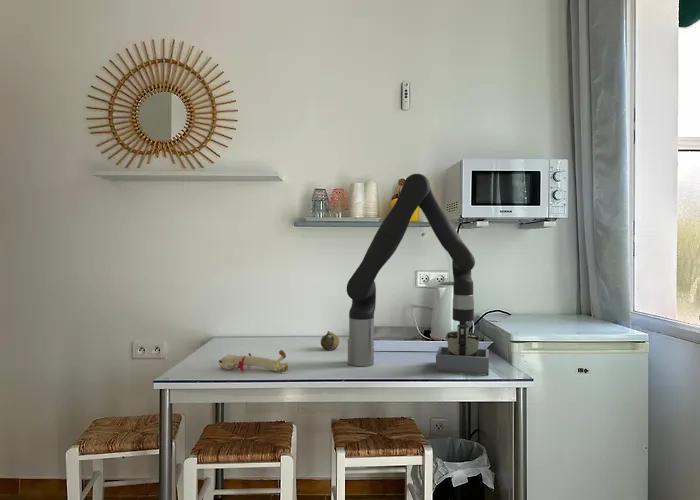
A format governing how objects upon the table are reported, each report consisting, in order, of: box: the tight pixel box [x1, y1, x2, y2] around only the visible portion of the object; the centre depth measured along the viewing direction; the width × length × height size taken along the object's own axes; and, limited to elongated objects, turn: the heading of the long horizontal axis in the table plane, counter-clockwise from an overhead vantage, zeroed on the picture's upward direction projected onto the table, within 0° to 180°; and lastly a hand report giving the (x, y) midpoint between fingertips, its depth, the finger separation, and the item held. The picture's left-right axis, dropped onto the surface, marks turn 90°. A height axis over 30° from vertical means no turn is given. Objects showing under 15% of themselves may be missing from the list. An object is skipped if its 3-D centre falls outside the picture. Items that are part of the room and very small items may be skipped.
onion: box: [320, 330, 340, 351], centre depth 226 cm, size 8×8×8 cm
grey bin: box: [435, 346, 490, 376], centre depth 196 cm, size 18×14×6 cm
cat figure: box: [217, 349, 289, 373], centre depth 194 cm, size 10×9×25 cm
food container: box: [445, 330, 482, 357], centre depth 196 cm, size 12×6×10 cm, turn 78°
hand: (462, 353), depth 195 cm, fingers closed on food container, 5 cm apart
